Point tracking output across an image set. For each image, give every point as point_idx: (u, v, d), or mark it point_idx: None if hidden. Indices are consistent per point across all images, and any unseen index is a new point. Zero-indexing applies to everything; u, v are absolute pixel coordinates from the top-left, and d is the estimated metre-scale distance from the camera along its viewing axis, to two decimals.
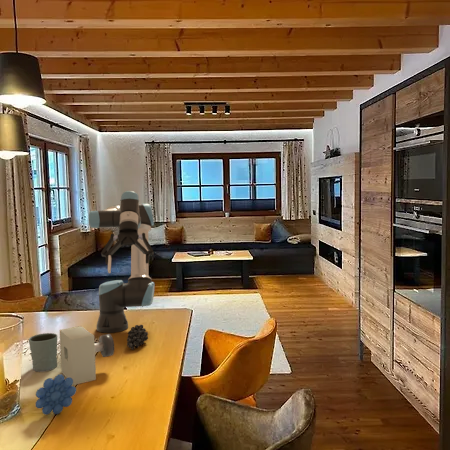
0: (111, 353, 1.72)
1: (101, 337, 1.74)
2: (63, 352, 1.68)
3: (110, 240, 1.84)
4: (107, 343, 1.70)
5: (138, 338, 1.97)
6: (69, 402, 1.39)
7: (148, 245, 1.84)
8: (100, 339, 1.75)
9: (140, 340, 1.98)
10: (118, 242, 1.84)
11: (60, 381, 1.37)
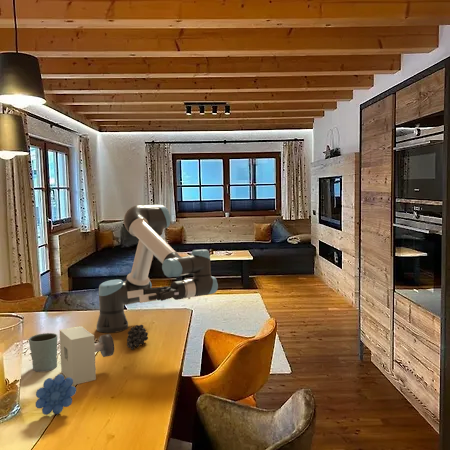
0: (111, 353, 1.72)
1: (101, 337, 1.74)
2: (63, 352, 1.68)
3: None
4: (107, 343, 1.70)
5: (138, 338, 1.97)
6: (69, 402, 1.39)
7: None
8: (100, 339, 1.75)
9: (140, 340, 1.98)
10: None
11: (60, 381, 1.37)
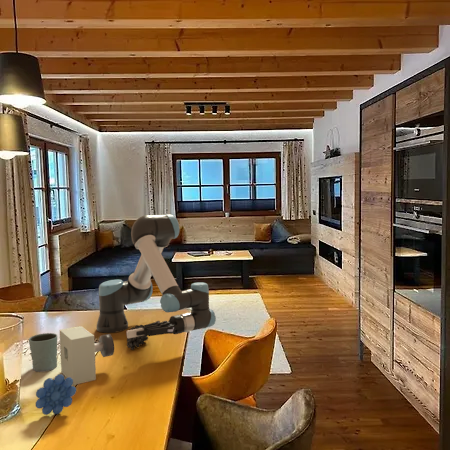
0: (111, 353, 1.72)
1: (101, 337, 1.74)
2: (63, 352, 1.68)
3: None
4: (107, 343, 1.70)
5: (138, 338, 1.97)
6: (69, 402, 1.39)
7: None
8: (100, 339, 1.75)
9: (140, 340, 1.97)
10: None
11: (60, 381, 1.37)
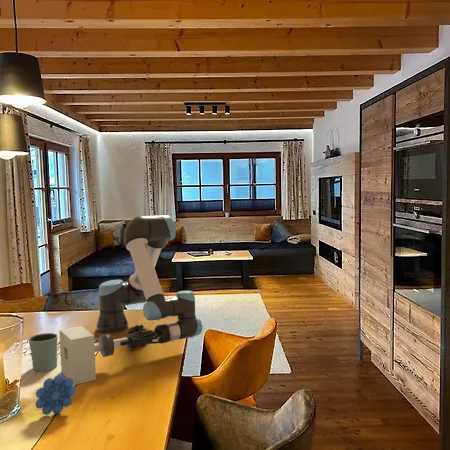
0: (111, 353, 1.72)
1: (101, 337, 1.73)
2: (63, 352, 1.68)
3: None
4: (107, 343, 1.70)
5: None
6: (69, 402, 1.39)
7: None
8: (100, 339, 1.75)
9: None
10: None
11: (60, 381, 1.37)
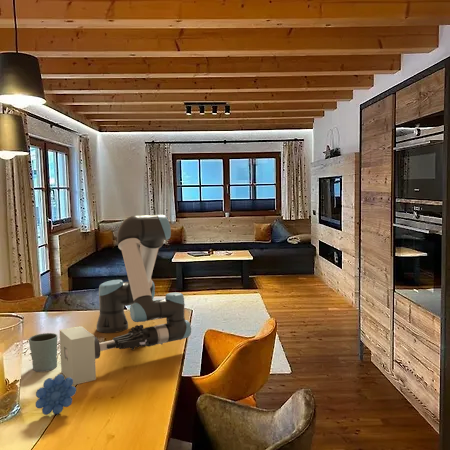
0: (97, 356, 1.69)
1: None
2: (63, 352, 1.68)
3: None
4: None
5: None
6: (69, 402, 1.39)
7: None
8: None
9: None
10: None
11: (60, 381, 1.37)
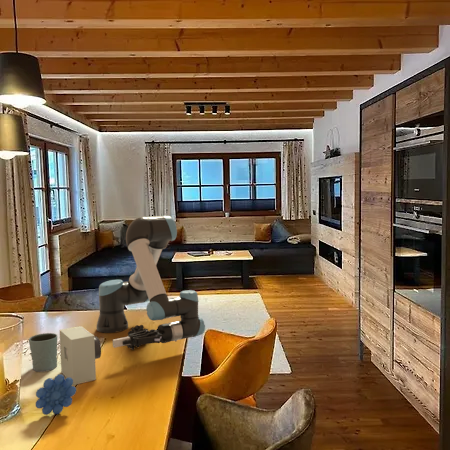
0: (98, 356, 1.69)
1: None
2: (63, 352, 1.68)
3: None
4: None
5: None
6: (69, 402, 1.39)
7: None
8: None
9: None
10: None
11: (60, 381, 1.37)
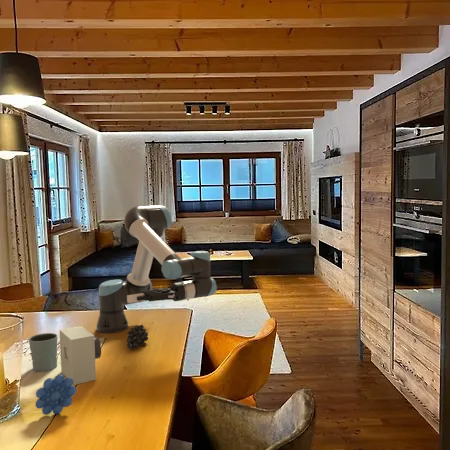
0: (98, 356, 1.69)
1: None
2: (63, 352, 1.68)
3: None
4: None
5: (138, 338, 1.97)
6: (69, 402, 1.39)
7: None
8: None
9: (140, 340, 1.97)
10: None
11: (60, 381, 1.37)
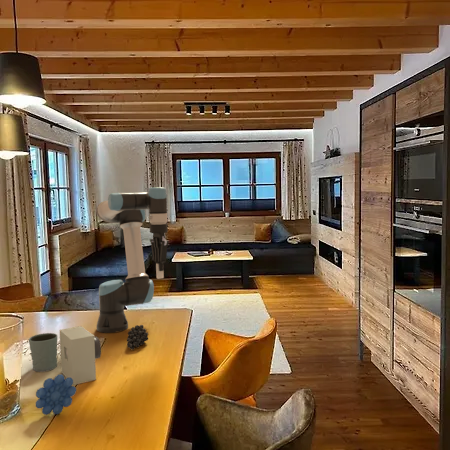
0: (98, 356, 1.69)
1: None
2: (63, 352, 1.68)
3: (151, 245, 2.01)
4: None
5: (138, 338, 1.97)
6: (69, 402, 1.39)
7: (160, 254, 1.94)
8: None
9: (140, 340, 1.97)
10: (154, 246, 1.98)
11: (60, 381, 1.37)
